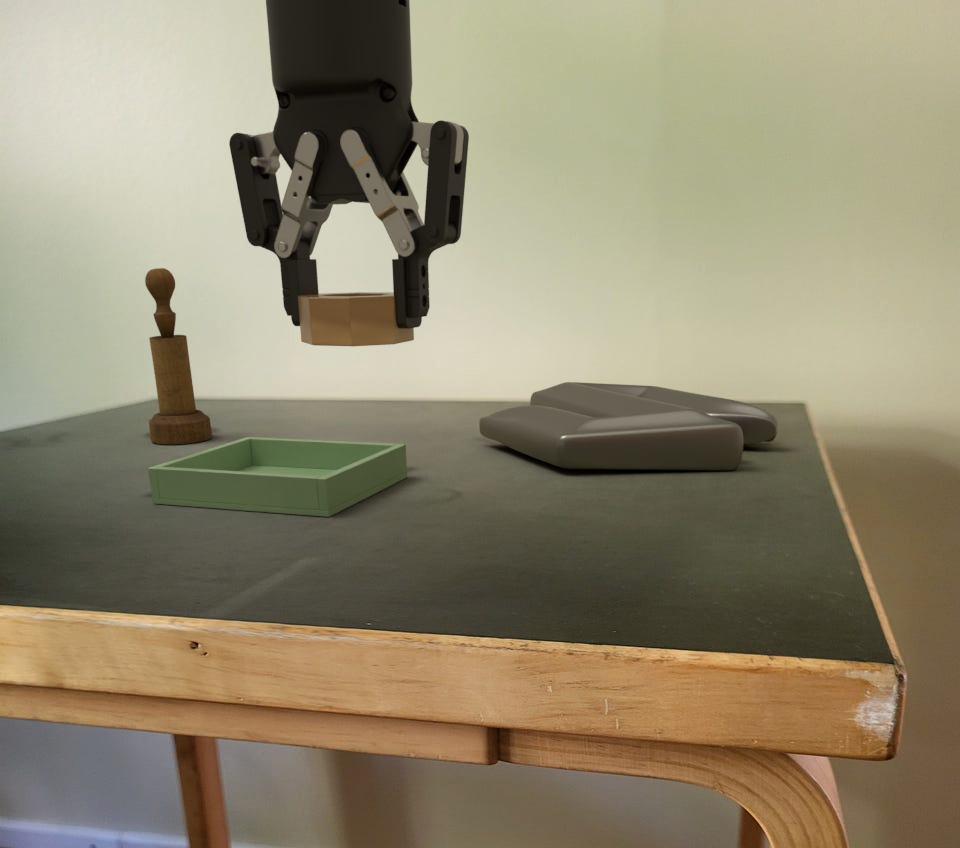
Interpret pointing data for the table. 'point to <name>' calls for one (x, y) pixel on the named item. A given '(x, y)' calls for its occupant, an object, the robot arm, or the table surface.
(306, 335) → the ring
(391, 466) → the tray
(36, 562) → the table surface
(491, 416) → the emblem
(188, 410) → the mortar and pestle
